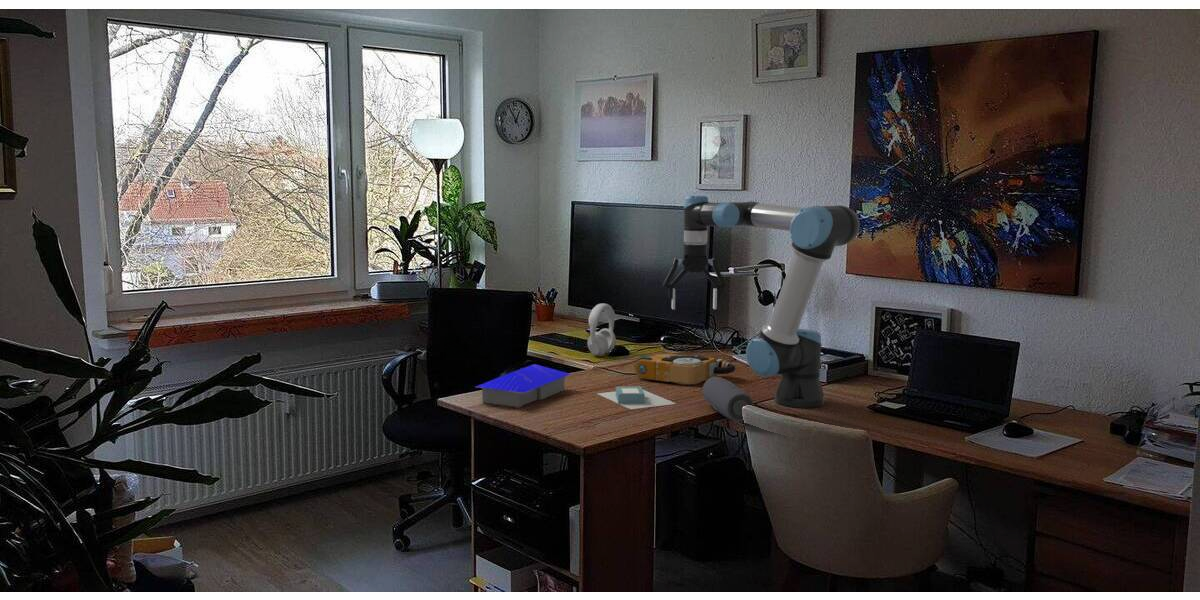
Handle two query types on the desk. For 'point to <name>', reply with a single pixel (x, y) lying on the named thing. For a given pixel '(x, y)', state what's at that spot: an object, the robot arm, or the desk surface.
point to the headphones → (601, 331)
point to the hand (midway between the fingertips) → (694, 308)
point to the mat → (649, 401)
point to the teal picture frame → (630, 395)
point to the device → (681, 368)
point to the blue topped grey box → (523, 386)
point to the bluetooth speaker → (726, 398)
